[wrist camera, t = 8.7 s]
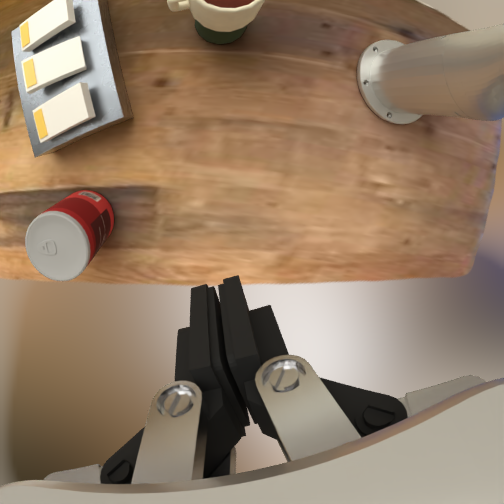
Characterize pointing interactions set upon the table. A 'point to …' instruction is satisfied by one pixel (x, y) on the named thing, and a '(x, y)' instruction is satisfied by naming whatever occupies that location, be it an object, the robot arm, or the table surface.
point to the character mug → (219, 17)
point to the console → (80, 76)
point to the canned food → (69, 235)
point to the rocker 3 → (64, 112)
